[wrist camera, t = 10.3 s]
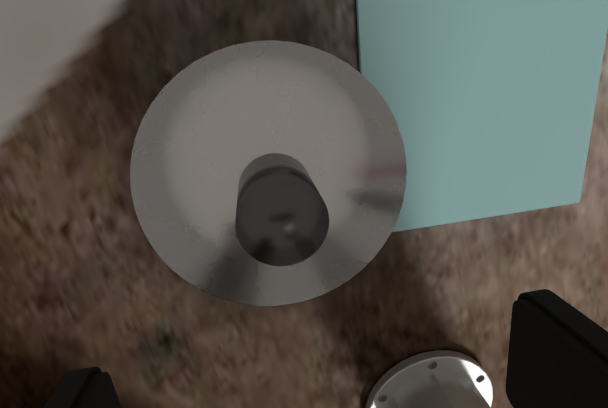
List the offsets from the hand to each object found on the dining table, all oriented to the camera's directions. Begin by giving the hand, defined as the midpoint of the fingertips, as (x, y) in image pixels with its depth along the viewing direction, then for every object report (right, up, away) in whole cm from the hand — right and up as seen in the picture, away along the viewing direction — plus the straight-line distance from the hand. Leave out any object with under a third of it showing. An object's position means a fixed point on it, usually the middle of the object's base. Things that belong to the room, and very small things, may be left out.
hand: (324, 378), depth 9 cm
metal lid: (-2, +5, +13) cm, 14 cm away
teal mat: (+13, +11, +19) cm, 25 cm away
